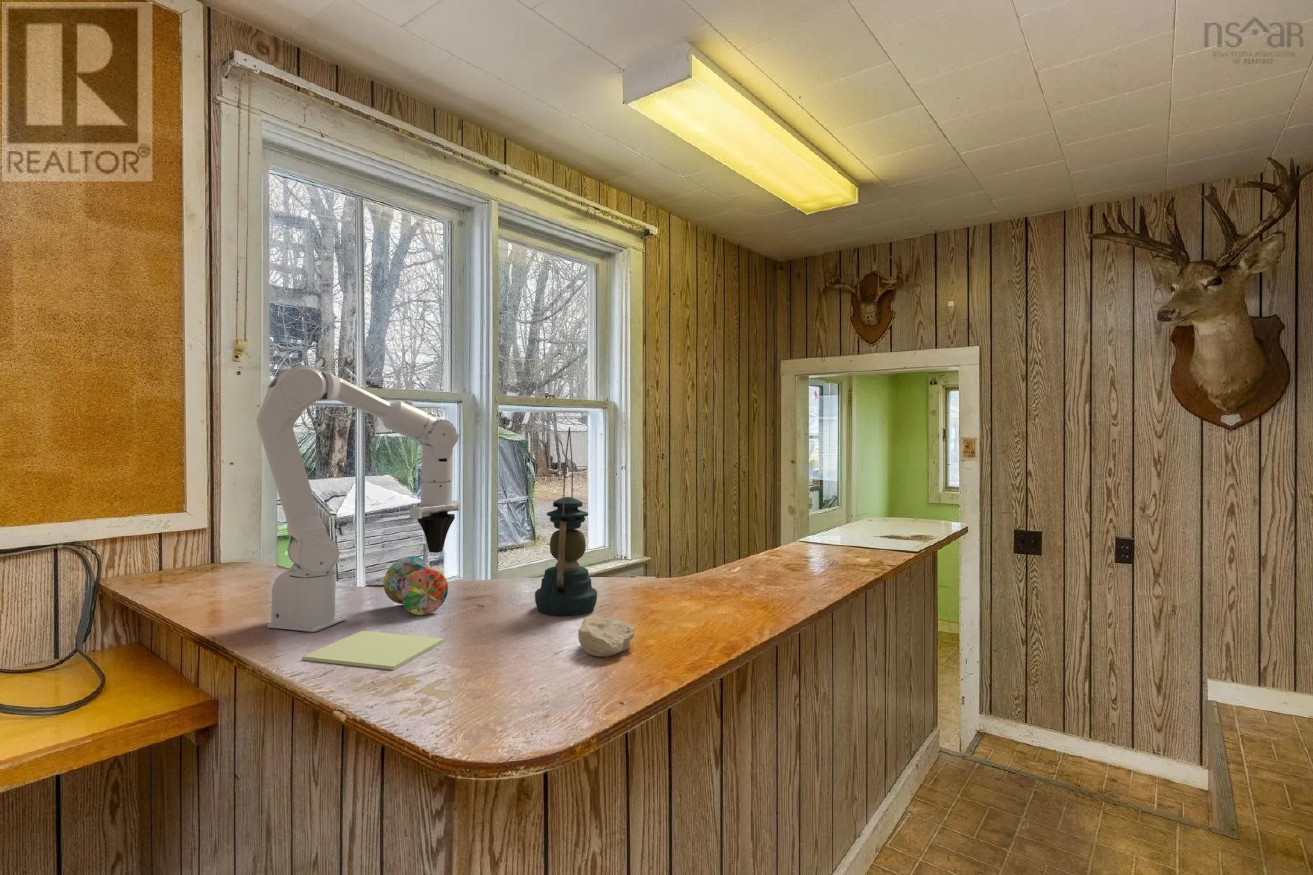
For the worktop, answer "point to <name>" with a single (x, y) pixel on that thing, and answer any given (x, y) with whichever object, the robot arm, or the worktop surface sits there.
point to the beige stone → (604, 635)
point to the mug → (415, 585)
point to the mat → (374, 650)
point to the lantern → (566, 562)
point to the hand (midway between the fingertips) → (435, 551)
